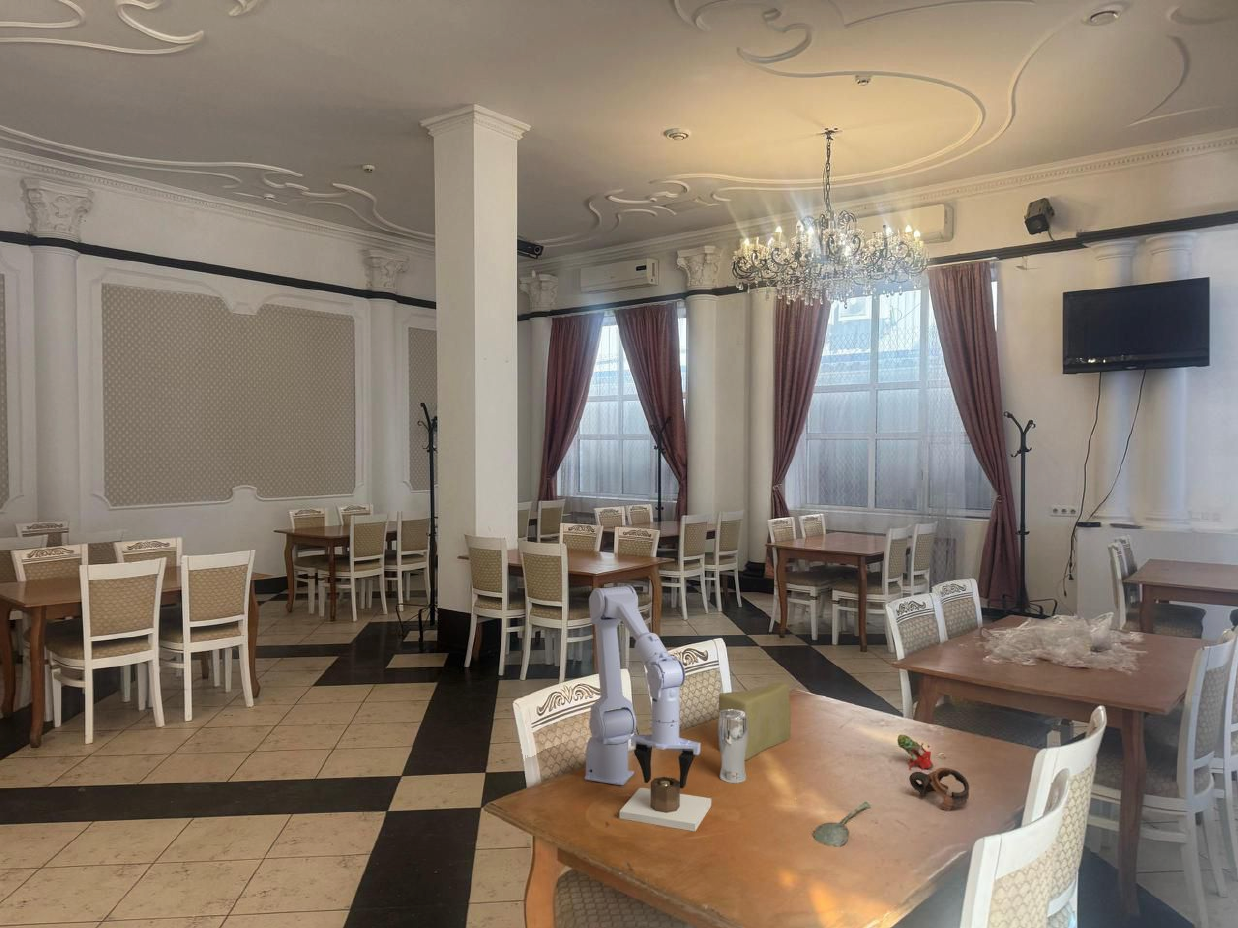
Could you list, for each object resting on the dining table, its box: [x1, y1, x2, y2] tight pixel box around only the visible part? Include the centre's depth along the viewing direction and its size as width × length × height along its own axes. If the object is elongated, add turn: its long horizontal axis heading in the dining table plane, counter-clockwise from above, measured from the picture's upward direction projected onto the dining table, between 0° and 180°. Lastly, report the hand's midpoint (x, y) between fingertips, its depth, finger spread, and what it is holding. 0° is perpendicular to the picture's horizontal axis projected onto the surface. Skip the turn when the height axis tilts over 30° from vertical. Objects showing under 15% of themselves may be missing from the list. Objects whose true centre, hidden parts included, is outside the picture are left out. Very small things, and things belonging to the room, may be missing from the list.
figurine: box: [896, 734, 934, 771], centre depth 196 cm, size 7×9×10 cm
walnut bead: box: [650, 776, 681, 813], centre depth 168 cm, size 6×6×5 cm
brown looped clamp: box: [908, 767, 970, 812], centre depth 175 cm, size 12×10×8 cm
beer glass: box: [717, 709, 748, 784], centre depth 187 cm, size 7×7×15 cm
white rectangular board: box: [618, 786, 712, 832], centre depth 169 cm, size 16×13×2 cm
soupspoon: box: [813, 801, 872, 848], centre depth 163 cm, size 22×3×7 cm
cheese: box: [718, 682, 792, 761], centre depth 208 cm, size 22×10×15 cm, turn 129°
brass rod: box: [660, 781, 670, 786], centre depth 168 cm, size 2×2×6 cm
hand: (665, 783), depth 168 cm, fingers open, 7 cm apart
